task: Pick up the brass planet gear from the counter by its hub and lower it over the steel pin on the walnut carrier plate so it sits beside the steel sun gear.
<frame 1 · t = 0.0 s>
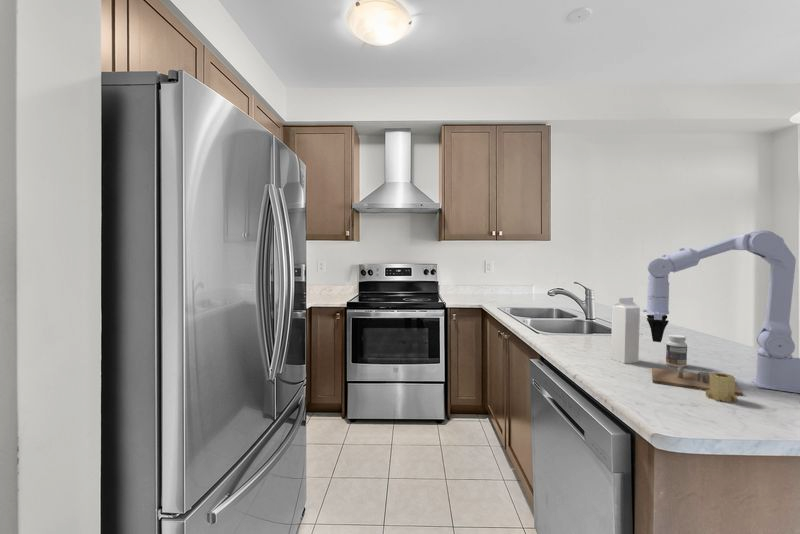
hand: (656, 339, 128), 10 cm above the worktop, tool pointing down, fingers open, 7 cm apart
milk: (624, 361, 140), on the worktop
carrier plate: (692, 381, 118), on the worktop
pill bottle: (676, 365, 135), on the worktop
planet gear: (720, 398, 105), on the worktop
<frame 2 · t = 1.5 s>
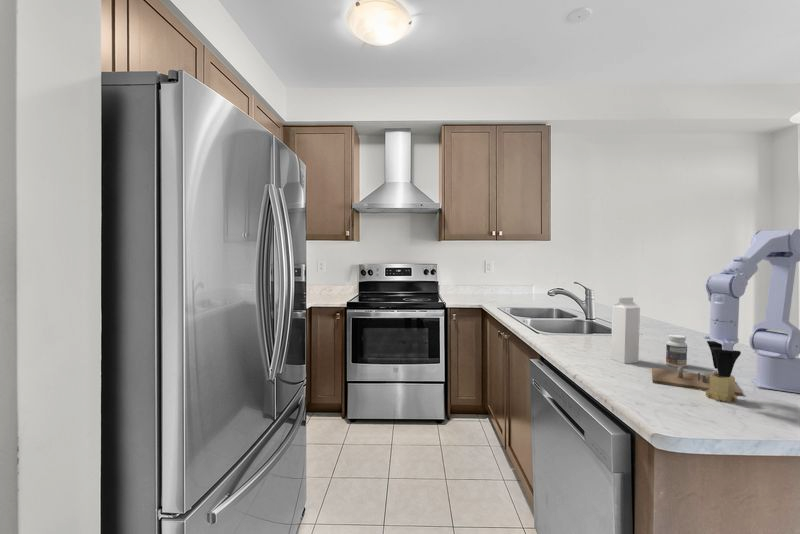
hand: (721, 372, 105), 7 cm above the worktop, tool pointing down, fingers open, 7 cm apart
nothing on the worktop moved.
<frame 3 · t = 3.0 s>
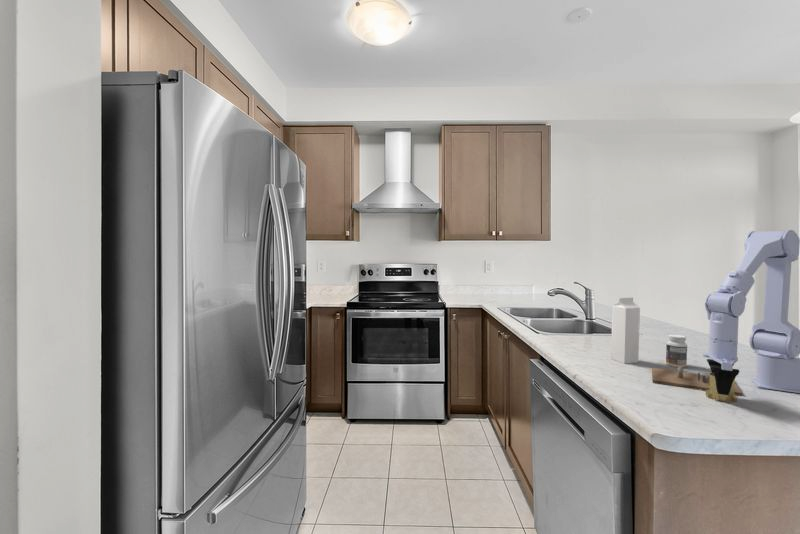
hand: (721, 390, 105), 2 cm above the worktop, tool pointing down, fingers closed on planet gear, 5 cm apart
planet gear: (720, 398, 105), on the worktop, touching gripper
everything else where it was.
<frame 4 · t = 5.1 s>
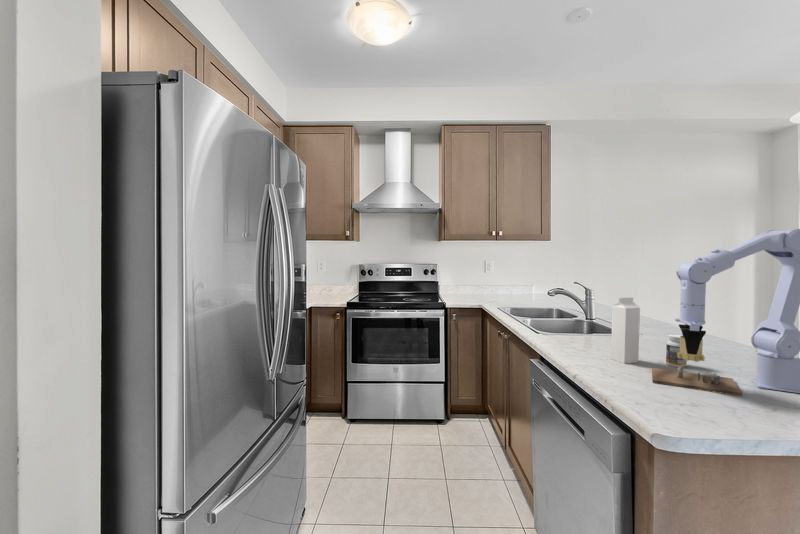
hand: (690, 351, 115), 9 cm above the worktop, tool pointing down, fingers closed on planet gear, 5 cm apart
planet gear: (690, 358, 115), point 8 cm above the worktop, touching gripper
everything else where it was.
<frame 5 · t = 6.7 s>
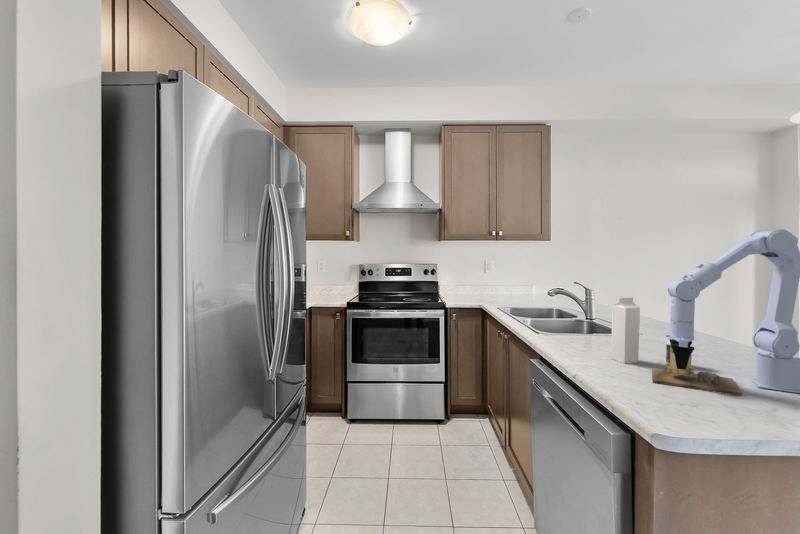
hand: (680, 366, 119), 4 cm above the worktop, tool pointing down, fingers closed on planet gear, 5 cm apart
planet gear: (680, 372, 119), point 2 cm above the worktop, touching gripper
everything else where it was.
when the fingers open (4 cm above the worktop, at t = 7.7 s): planet gear stays where it is, resting on carrier plate.
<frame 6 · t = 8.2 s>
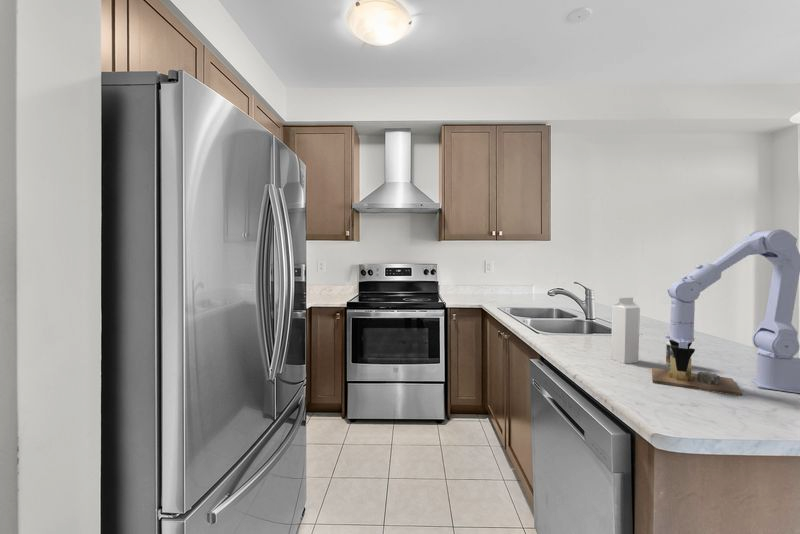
hand: (680, 367, 119), 4 cm above the worktop, tool pointing down, fingers open, 7 cm apart
planet gear: (680, 377, 119), point 1 cm above the worktop, touching carrier plate
everything else where it was.
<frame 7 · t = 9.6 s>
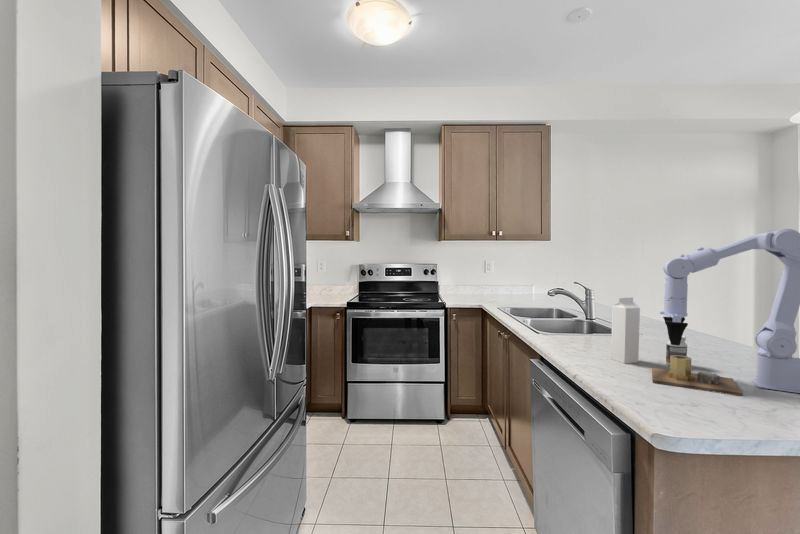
hand: (674, 342, 123), 10 cm above the worktop, tool pointing down, fingers open, 7 cm apart
nothing on the worktop moved.
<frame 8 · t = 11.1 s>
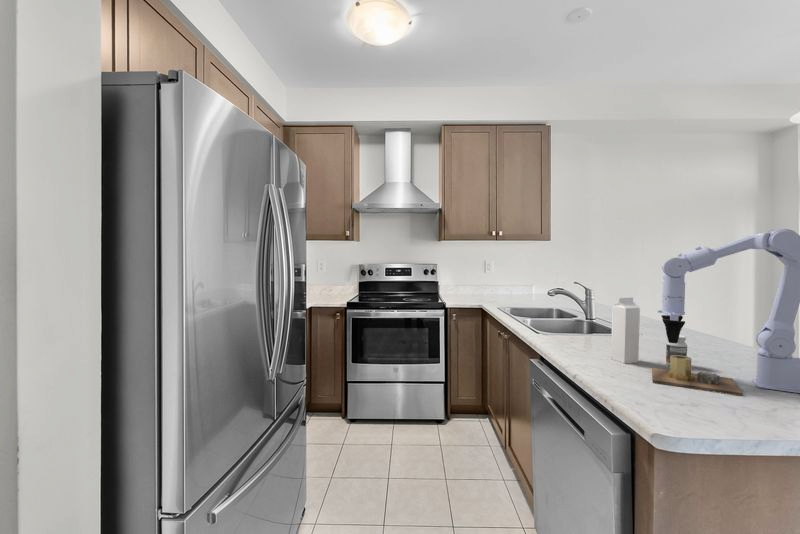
hand: (672, 340, 125), 10 cm above the worktop, tool pointing down, fingers open, 7 cm apart
nothing on the worktop moved.
at the end: planet gear 0.0 cm from the target spot on the carrier plate, point 0.8 cm above the carrier plate's base; planet gear tilted 0°; the gripper is holding nothing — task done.
